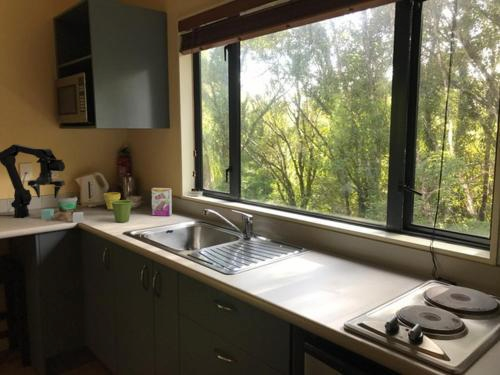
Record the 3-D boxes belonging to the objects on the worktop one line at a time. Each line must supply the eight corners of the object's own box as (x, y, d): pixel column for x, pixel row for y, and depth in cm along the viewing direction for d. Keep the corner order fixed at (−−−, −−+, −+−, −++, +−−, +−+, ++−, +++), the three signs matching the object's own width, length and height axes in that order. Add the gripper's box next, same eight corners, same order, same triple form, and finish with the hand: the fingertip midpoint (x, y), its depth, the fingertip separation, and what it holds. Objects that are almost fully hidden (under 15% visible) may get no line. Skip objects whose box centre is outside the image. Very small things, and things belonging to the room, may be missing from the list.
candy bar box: (151, 216, 253) (150, 188, 251) (154, 214, 258) (153, 187, 256) (169, 216, 252) (169, 189, 250) (172, 214, 257) (171, 188, 255)
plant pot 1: (104, 210, 270) (103, 195, 269) (104, 207, 280) (103, 192, 278) (121, 209, 273) (120, 194, 272) (120, 206, 283) (119, 192, 282)
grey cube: (73, 223, 233) (72, 214, 232) (74, 221, 237) (73, 212, 237) (82, 222, 234) (82, 213, 233) (83, 220, 239) (83, 212, 238)
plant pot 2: (125, 224, 230) (124, 204, 228) (106, 222, 234) (106, 202, 232) (137, 220, 241) (137, 200, 240) (119, 218, 245) (119, 199, 243)
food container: (63, 216, 250) (62, 199, 249) (57, 215, 254) (56, 198, 253) (82, 213, 260) (81, 197, 259) (76, 212, 264) (75, 196, 262)
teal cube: (41, 219, 242) (41, 210, 242) (45, 217, 247) (45, 209, 247) (50, 219, 242) (50, 210, 242) (54, 217, 247) (53, 209, 247)
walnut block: (53, 221, 238) (53, 214, 237) (59, 218, 245) (58, 211, 244) (66, 221, 238) (65, 214, 237) (71, 218, 245) (71, 212, 244)
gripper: (22, 172, 233) (23, 200, 235) (57, 172, 234) (58, 200, 236) (31, 170, 244) (32, 196, 246) (64, 170, 245) (65, 197, 247)
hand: (47, 197), depth 243 cm, fingers open, 9 cm apart
